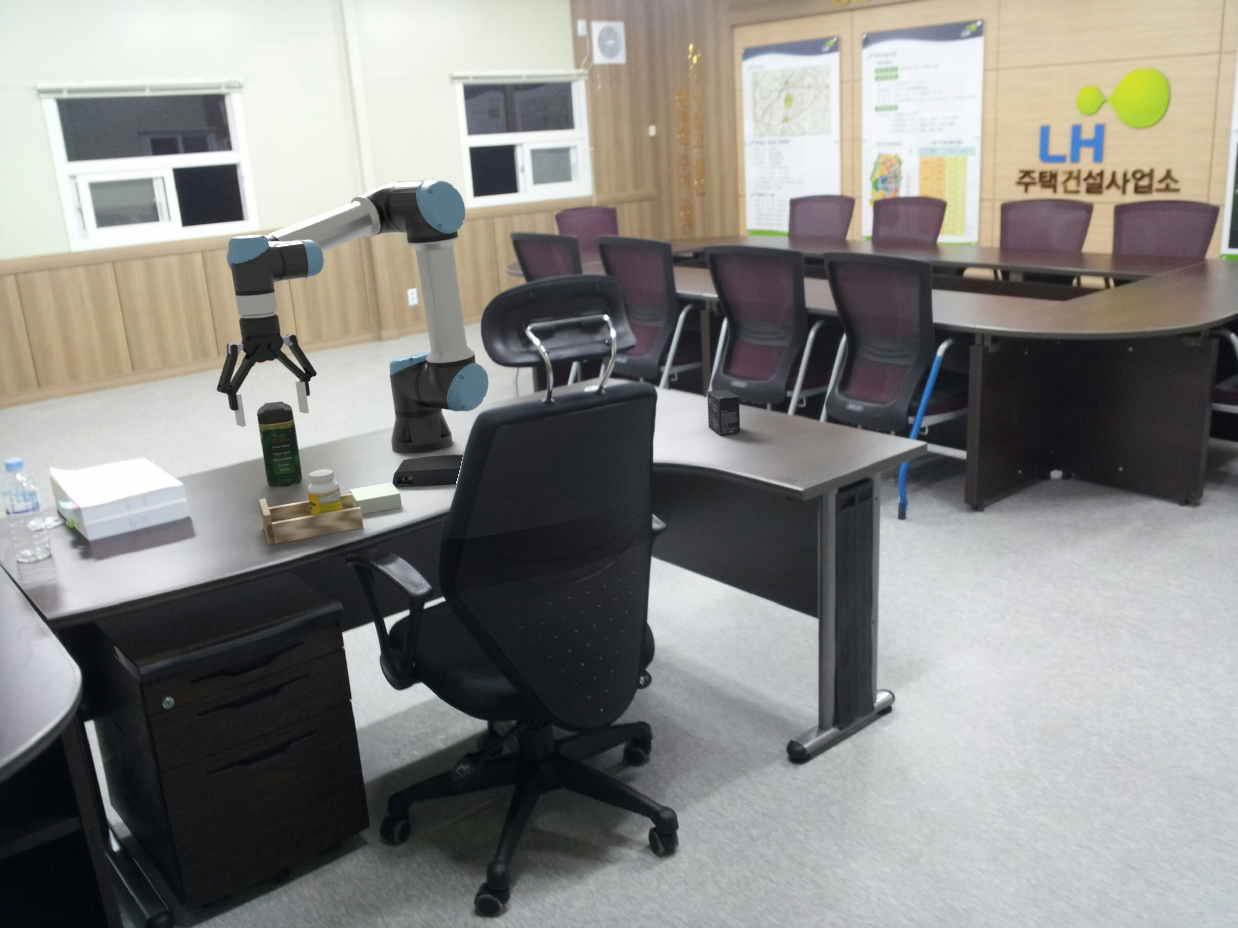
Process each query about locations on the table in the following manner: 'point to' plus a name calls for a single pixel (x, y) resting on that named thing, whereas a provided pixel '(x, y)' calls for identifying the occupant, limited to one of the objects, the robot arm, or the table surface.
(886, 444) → the table surface
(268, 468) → the coffee jar
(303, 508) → the tray
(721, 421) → the box
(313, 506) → the pill bottle
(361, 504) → the stand
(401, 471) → the external hard drive
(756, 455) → the table surface
